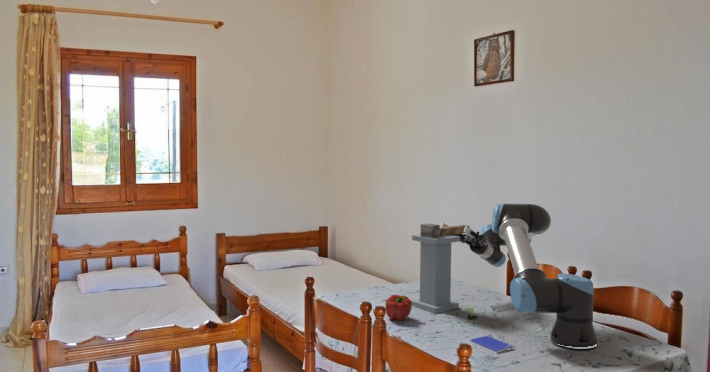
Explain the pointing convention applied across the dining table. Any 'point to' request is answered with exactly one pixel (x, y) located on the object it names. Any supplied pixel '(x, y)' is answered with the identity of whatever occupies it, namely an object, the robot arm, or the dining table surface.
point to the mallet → (440, 230)
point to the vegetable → (398, 307)
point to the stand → (435, 273)
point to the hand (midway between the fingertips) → (453, 226)
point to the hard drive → (491, 344)
